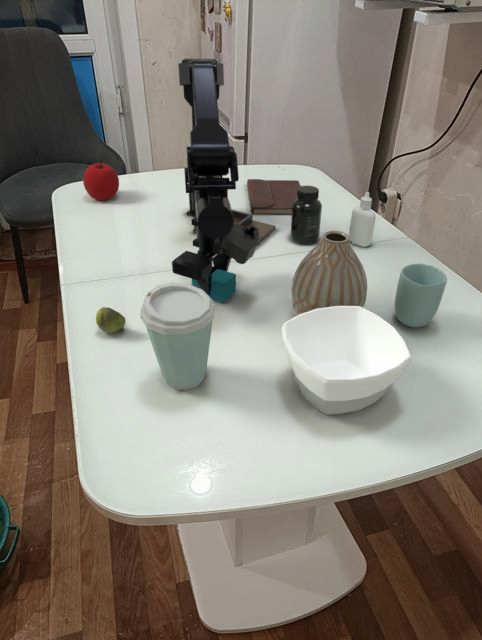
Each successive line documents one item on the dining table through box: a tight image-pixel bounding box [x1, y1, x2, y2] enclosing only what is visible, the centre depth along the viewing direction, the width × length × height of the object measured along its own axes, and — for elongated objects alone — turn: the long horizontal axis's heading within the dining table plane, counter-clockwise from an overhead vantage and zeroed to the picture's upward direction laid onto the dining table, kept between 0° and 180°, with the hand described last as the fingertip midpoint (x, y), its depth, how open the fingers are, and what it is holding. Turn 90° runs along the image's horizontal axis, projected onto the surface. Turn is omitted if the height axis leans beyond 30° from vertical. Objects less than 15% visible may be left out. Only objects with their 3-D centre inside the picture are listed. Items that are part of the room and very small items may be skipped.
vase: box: [290, 230, 368, 316], centre depth 88 cm, size 13×13×18 cm
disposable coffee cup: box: [140, 282, 216, 391], centre depth 76 cm, size 11×11×15 cm
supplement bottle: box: [289, 185, 323, 245], centre depth 117 cm, size 7×7×12 cm
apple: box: [82, 158, 120, 201], centre depth 133 cm, size 9×9×10 cm
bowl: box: [280, 306, 412, 415], centre depth 78 cm, size 18×18×9 cm
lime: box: [95, 306, 127, 333], centre depth 88 cm, size 4×5×5 cm
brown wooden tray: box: [192, 209, 277, 243], centre depth 122 cm, size 16×12×2 cm
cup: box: [393, 263, 448, 328], centre depth 92 cm, size 8×8×10 cm
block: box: [191, 269, 237, 304], centre depth 100 cm, size 5×7×4 cm
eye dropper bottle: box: [348, 191, 377, 248], centre depth 116 cm, size 4×6×12 cm
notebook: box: [246, 178, 302, 215], centre depth 138 cm, size 15×20×2 cm
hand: (214, 288), depth 100 cm, fingers closed on block, 5 cm apart
